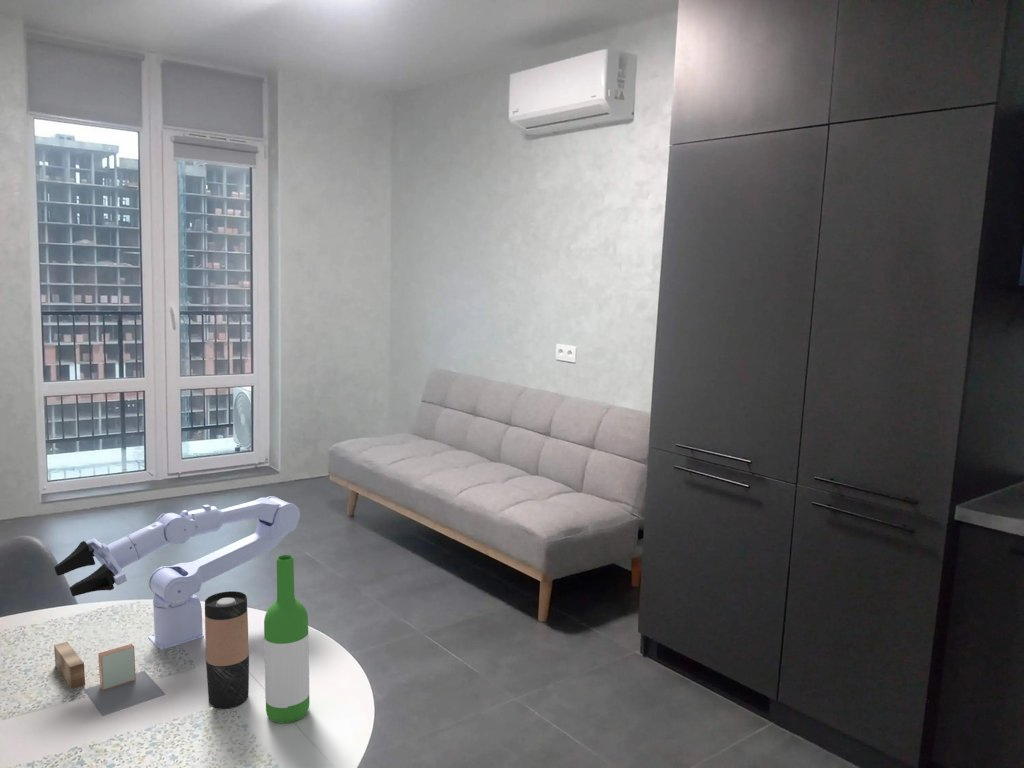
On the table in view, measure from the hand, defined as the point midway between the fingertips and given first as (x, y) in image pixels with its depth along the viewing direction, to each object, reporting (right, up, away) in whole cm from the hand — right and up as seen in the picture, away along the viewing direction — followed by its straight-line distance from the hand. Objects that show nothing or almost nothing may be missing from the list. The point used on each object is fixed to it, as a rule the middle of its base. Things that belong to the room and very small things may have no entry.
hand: (63, 581), depth 150 cm
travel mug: (+35, -21, -7) cm, 42 cm away
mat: (+15, -20, -5) cm, 26 cm away
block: (+12, -19, -3) cm, 23 cm away
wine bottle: (+48, -22, -11) cm, 54 cm away
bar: (+1, -19, +1) cm, 19 cm away
